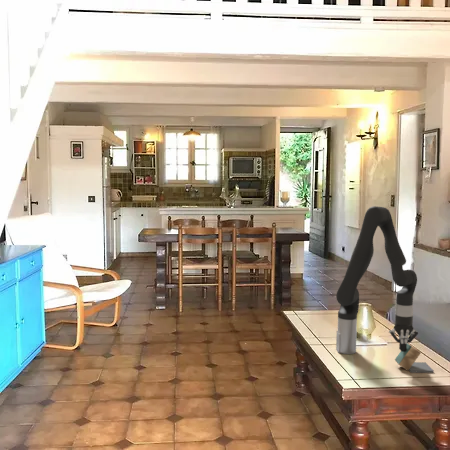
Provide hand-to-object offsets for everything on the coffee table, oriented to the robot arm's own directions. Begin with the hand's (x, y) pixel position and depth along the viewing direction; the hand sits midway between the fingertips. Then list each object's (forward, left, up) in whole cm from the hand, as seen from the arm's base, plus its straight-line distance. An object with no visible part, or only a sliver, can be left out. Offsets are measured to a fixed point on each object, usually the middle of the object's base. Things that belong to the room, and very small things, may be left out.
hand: (402, 351), depth 233 cm
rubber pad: (+7, 0, -8) cm, 11 cm away
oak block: (0, 0, -7) cm, 7 cm away
